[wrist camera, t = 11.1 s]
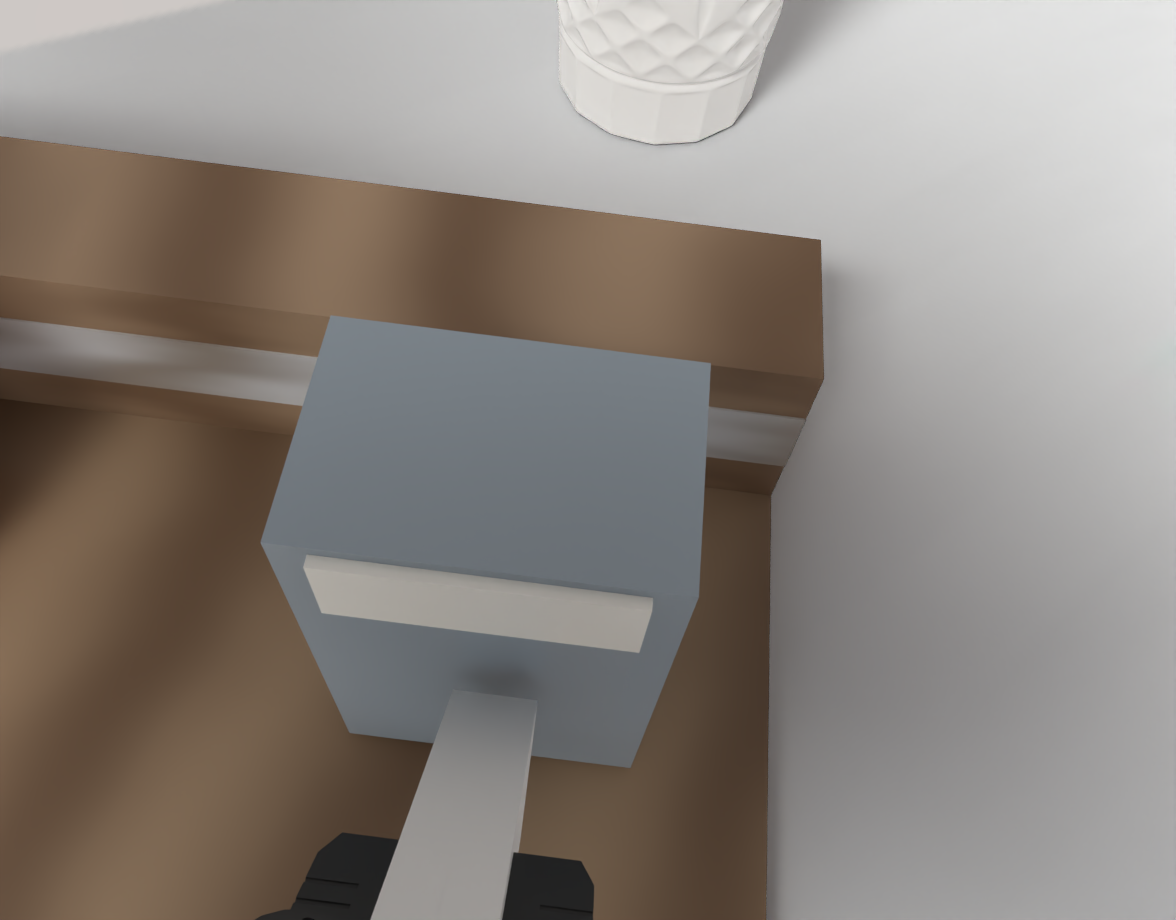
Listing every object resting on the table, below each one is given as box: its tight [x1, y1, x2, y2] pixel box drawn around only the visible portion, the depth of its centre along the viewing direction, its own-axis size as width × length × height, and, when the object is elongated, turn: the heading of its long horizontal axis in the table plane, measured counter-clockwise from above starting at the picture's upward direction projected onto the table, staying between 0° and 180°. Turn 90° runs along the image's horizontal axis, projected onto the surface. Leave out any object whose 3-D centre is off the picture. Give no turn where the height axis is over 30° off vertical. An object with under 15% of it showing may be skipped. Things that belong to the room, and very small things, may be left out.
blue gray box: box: [260, 315, 711, 768], centre depth 19 cm, size 6×4×9 cm
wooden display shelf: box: [0, 136, 824, 920], centre depth 22 cm, size 28×16×6 cm, turn 84°
